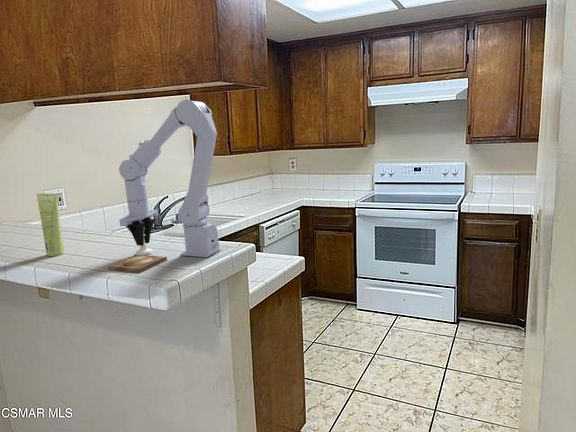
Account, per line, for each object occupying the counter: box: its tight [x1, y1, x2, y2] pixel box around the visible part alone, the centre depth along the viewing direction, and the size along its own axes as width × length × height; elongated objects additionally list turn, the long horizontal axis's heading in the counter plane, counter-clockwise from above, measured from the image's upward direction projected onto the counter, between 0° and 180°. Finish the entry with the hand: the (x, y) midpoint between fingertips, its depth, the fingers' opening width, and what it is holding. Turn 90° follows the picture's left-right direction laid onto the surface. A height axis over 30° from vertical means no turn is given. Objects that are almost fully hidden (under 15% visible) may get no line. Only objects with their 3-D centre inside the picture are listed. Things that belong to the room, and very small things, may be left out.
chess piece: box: [135, 221, 153, 255], centre depth 133 cm, size 5×5×10 cm
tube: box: [36, 193, 65, 257], centre depth 137 cm, size 6×5×20 cm
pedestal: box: [107, 254, 168, 274], centre depth 122 cm, size 11×11×1 cm
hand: (143, 244), depth 133 cm, fingers closed on chess piece
